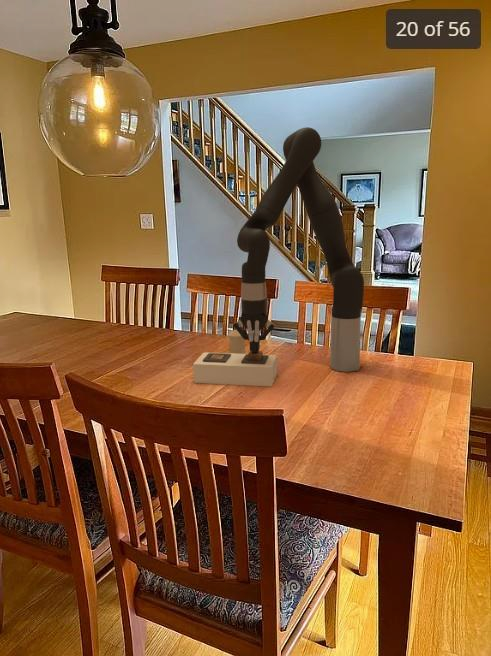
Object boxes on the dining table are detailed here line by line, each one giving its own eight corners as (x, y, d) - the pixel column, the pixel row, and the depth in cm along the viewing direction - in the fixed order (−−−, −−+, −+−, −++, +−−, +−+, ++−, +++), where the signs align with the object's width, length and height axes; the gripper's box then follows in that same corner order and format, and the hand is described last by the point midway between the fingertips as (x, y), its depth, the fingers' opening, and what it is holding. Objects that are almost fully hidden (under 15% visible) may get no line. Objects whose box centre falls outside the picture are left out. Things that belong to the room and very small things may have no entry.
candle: (243, 360, 170) (242, 332, 168) (227, 359, 171) (227, 332, 169) (246, 355, 175) (245, 328, 173) (231, 355, 177) (230, 328, 174)
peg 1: (225, 375, 156) (224, 355, 155) (222, 379, 153) (221, 358, 151) (213, 374, 157) (212, 354, 155) (210, 378, 153) (209, 358, 152)
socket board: (277, 372, 157) (277, 353, 155) (271, 386, 146) (271, 365, 144) (204, 369, 162) (203, 350, 160) (193, 382, 150) (192, 362, 149)
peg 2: (262, 371, 154) (262, 351, 152) (260, 375, 150) (260, 355, 148) (250, 371, 154) (249, 350, 153) (247, 375, 151) (247, 354, 149)
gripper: (277, 295, 148) (277, 350, 153) (234, 294, 151) (236, 348, 155) (274, 299, 141) (274, 357, 146) (229, 298, 144) (230, 355, 148)
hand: (254, 352), depth 151 cm, fingers closed
